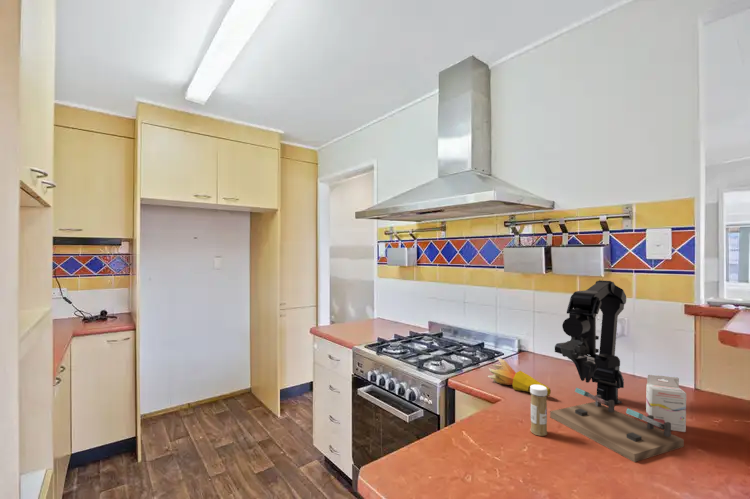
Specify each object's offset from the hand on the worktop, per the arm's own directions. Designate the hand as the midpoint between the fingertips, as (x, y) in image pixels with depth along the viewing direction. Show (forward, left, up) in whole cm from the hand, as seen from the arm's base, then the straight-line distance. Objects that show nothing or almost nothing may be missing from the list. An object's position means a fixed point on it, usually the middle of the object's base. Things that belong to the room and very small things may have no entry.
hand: (585, 381), depth 114 cm
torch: (+2, -27, -12) cm, 30 cm away
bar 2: (-3, +16, -6) cm, 17 cm away
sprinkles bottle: (+20, +1, -12) cm, 24 cm away
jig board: (-1, +8, -12) cm, 14 cm away
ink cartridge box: (-19, +12, -12) cm, 25 cm away
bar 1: (-3, 0, -6) cm, 7 cm away
